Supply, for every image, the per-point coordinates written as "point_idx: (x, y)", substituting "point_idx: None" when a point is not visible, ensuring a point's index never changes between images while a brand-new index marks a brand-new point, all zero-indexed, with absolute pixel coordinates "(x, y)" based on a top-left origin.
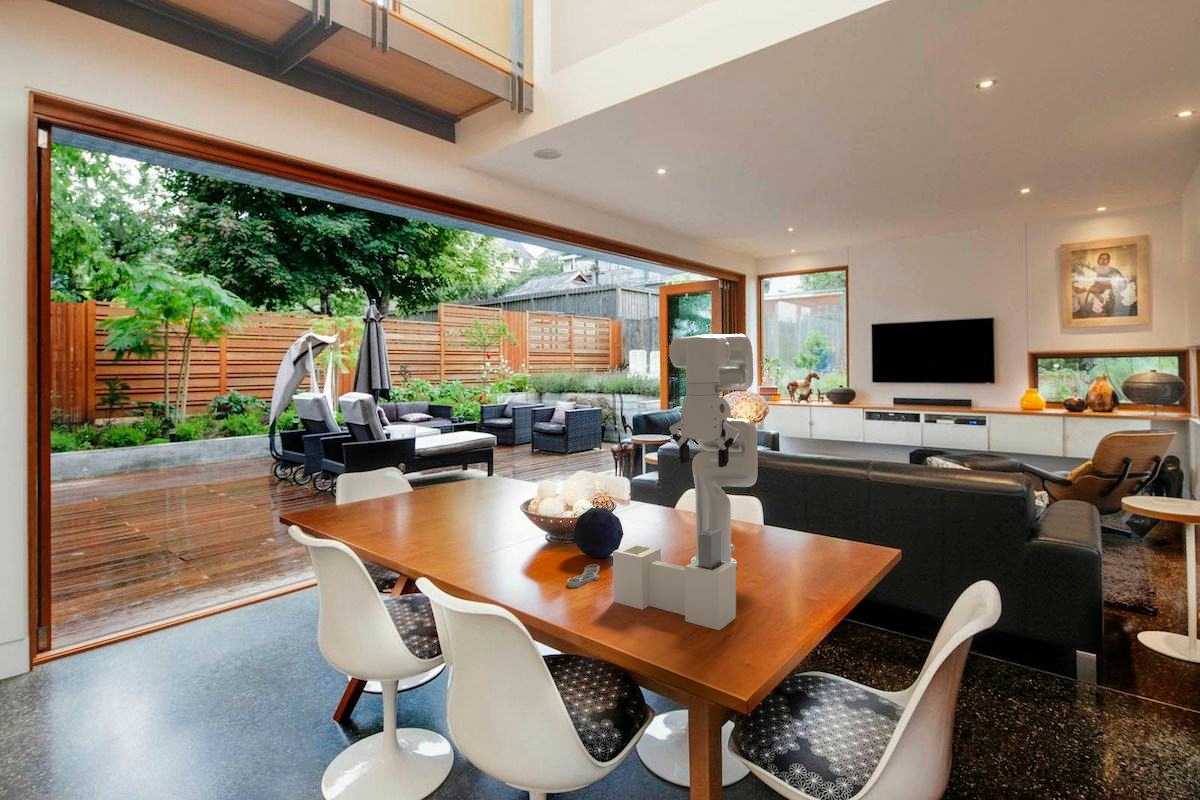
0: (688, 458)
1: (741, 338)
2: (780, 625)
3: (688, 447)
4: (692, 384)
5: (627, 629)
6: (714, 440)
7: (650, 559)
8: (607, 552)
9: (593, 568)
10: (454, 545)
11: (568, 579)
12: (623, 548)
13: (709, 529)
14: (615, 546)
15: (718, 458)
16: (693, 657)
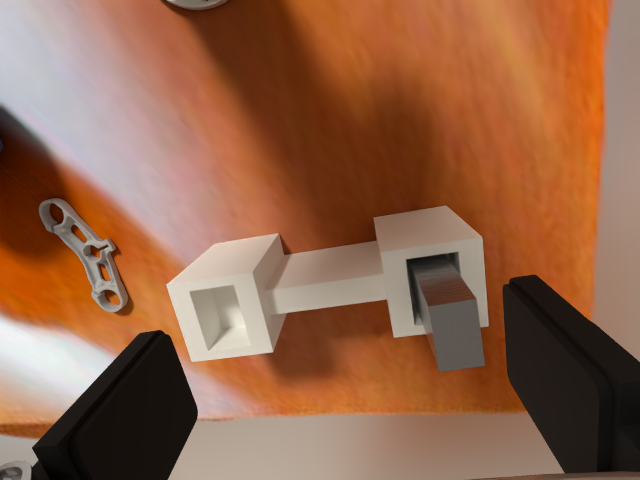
0: (160, 360)
1: None
2: (534, 173)
3: (97, 444)
4: None
5: (334, 365)
6: None
7: (267, 310)
8: (1, 147)
9: (65, 223)
10: None
11: (99, 304)
12: (188, 331)
13: (435, 309)
14: None
15: (543, 434)
16: (473, 370)
